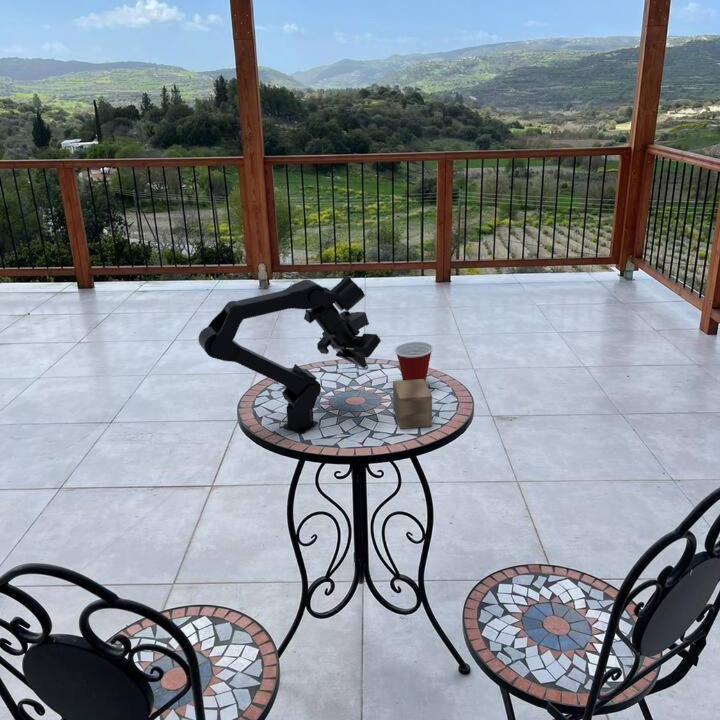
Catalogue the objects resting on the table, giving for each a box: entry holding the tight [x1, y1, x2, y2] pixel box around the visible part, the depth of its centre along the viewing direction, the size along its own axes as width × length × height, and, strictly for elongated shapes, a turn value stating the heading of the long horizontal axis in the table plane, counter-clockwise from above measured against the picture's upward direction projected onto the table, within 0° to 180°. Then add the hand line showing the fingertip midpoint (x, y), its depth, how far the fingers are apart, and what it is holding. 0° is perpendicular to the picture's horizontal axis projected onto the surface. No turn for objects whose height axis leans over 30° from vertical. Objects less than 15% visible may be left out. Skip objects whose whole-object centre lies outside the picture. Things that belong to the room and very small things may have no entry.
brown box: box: [392, 379, 433, 429], centre depth 172 cm, size 8×11×8 cm
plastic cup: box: [393, 341, 434, 383], centre depth 190 cm, size 11×11×12 cm
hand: (364, 366), depth 173 cm, fingers closed
